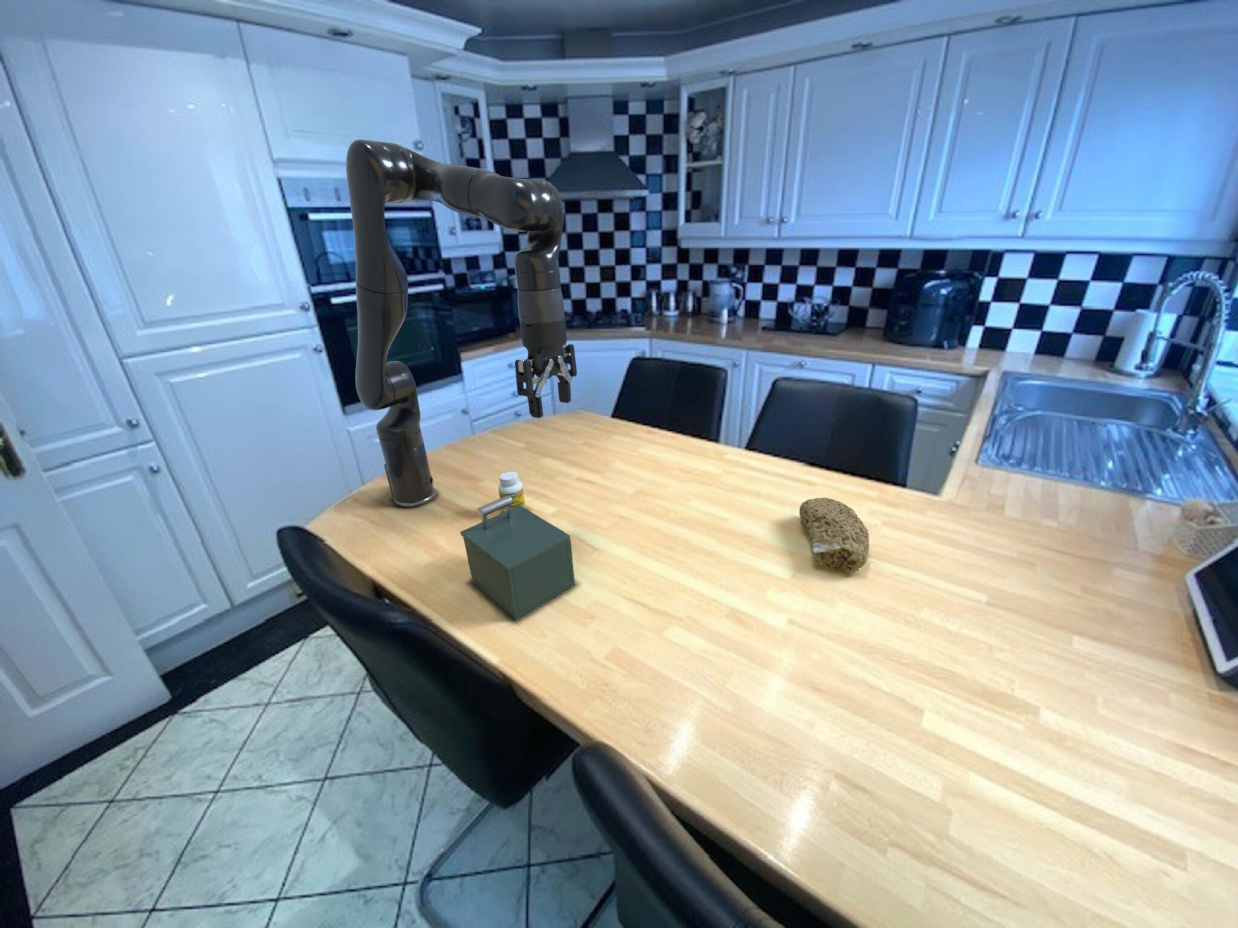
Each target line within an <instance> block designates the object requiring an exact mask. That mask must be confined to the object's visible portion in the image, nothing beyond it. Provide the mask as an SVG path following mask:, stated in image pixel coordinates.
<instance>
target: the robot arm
mask: <svg viewBox="0 0 1238 928" xmlns="http://www.w3.org/2000/svg"><path fill="white" fill-rule="evenodd" d="M345 172H346V173H345V174H346V182H347V189H348V199H349V205H350V212H351V219H352V227H353V240H354V254H355V294H356V295H355V296H356V297H355V299H356V309H357V310H356V311H357V350H356V364H355V376H354V377H355V378H354V379H355V388H356V392H357V395H358V398H359V400H360V402H361V404H363V406H364V407H365V408H366V409H368V410H370V411H380V410H384V409H388V410H387V412H386V413H385V414H384V415H383V416H382V418H381V419H380V420H378V421H377V423H376V426H375V430H376V435H377V437H378V442H379V446H380V448H381V452H382V456H383V459H384V465H383V467H384V471H385V475H386V479H387V483H388V487H389V489H390V493H391V497H392V500H393V501H394V503H395V505H397V506H398V507H402V508H412V507H417V506H422V505H424V504H427V503H428V502H430V501H432V500H433V499H434V498H435V496H436V494H437V493H436V490H435V487H434V484H435V482H434V479H433V475H432V473H431V469H430V464H429V460H428V455H427V451H426V445H425V442H424V437H423V433H422V429H421V424H420V423H421V417H422V416H421V410H420V404H419V397H418V391H417V385H416V382H415V379H414V376H413V373H412V372H411V369H410V368H409V367H408V366H407V364H405V363H403V362H402V361H399V360H391V361H387V358H388V353H389V351H390V348H391V345H392V343H394V342H393V341H394V340H395V338H396V336H397V335H398V333H399V332H400V329H401V327H402V325H403V324H404V321H405V319H406V316H407V314H408V307H409V279H408V275H407V273H406V269H405V267H404V266H403V263H402V262H401V259H400V258H399V256H398V254H397V253H396V252H395V250H394V248H393V246H392V244H391V242H390V240H389V237H388V233H387V229H386V219H385V218H386V217H385V216H386V215H385V206H386V203H390V204H398V203H399V204H402V203H406V202H413V201H414V202H415V201H416V202H418V201H419V202H420V201H421V202H422V201H423V202H424V201H427V202H428V201H430V202H436V203H439V204H442V205H443V206H445V207H446V208H447V209H450V210H451V211H453V212H455V213H458V214H461V215H464V216H468V217H472V218H476V219H480V220H485V221H488V222H490V223H493V224H495V225H496V226H499V227H501V228H503V229H506V230H510V231H514V232H521V233H523V232H527V236H526V243H525V246H524V247H523V248H521V249H520V250H518V251H517V252H515V254H514V259H513V260H514V261H513V263H514V273H515V283H516V289H517V311H518V312H517V313H518V320H519V328H520V335H521V344H522V346H523V347H524V348H525V349H526V350H527V356H526V357H527V358H525V359H515V361H514V369H515V370H514V371H515V380H516V381H515V382H516V394H517V395H518V396H519V397H526V398H527V403H528V412H529V414H530V416H531V417H532V418H535V419H541V418H543V417H544V409H543V401H542V400H543V399H542V396H541V394H542V390H543V387H544V386H546V385H547V382H548V380H549V379H551V378H553V376H554V377H555V379H556V380H557V381H558V382H557V391H558V392H557V393H558V400H559V402H560V403H562V404H563V403H564V404H568V403H571V401H572V392H571V391H572V389H571V382H572V380H573V377H576V376H577V375H578V371H577V370H578V369H577V360H576V352H575V346H574V344H572V343H567V341H568V337H567V326H566V314H565V303H564V297H563V292H562V285H561V274H560V273H561V272H560V264H559V263H560V262H559V258H560V252H561V247H562V239H563V238H562V237H563V230H564V229H563V228H564V221H565V219H564V218H565V217H564V216H565V214H564V213H565V212H564V203H563V200H562V197H561V194H560V193H559V191H558V189H557V187H556V186H555V185H554V184H553V183H551V182H549V181H547V180H544V179H529V178H519V177H516V178H515V177H509V176H504V175H501V174H498V173H496V172H494V171H491V170H487V169H482V168H478V167H473V166H468V165H462V164H454V163H453V164H452V163H446V162H445V163H444V162H440V161H437V160H434V159H432V158H429V157H426V156H424V155H422V154H420V153H418V152H416V151H414V150H411V149H409V148H408V147H405V146H403V145H400V144H398V143H394V142H387V141H379V140H372V139H355V140H353V141H352V142H351V143H350V145H349V146H348V148H347V152H346V159H345ZM568 365H569V366H570V367H569V366H568ZM535 376H536V377H535ZM524 384H525V385H524ZM534 386H535V387H534ZM534 388H535V389H534Z"/></svg>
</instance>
